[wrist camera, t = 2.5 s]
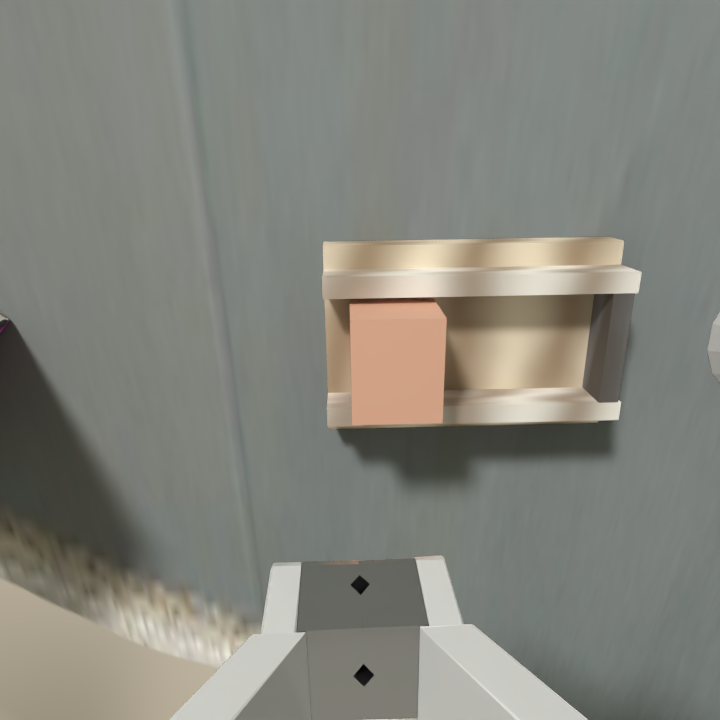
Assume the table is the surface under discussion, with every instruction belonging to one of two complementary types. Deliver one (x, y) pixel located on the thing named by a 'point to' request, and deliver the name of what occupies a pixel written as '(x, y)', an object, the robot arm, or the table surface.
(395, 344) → the block
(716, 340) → the french press
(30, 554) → the table surface
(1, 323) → the candy bar box
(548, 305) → the chute
